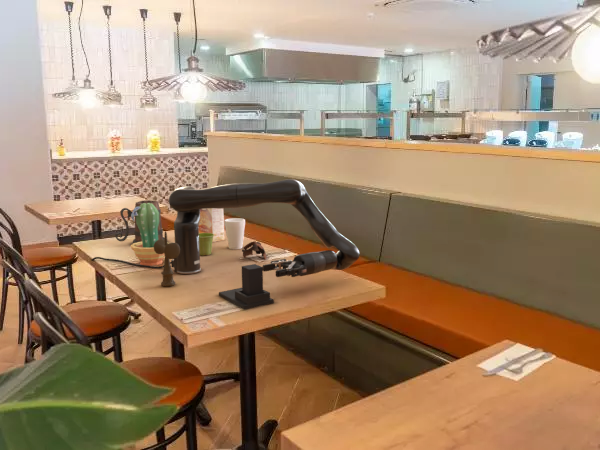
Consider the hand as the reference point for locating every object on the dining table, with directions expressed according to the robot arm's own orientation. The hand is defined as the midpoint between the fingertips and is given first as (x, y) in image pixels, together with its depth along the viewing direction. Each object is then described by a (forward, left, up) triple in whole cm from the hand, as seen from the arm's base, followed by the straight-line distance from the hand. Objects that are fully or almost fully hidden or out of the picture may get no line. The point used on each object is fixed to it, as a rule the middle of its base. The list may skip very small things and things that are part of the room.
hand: (269, 271), depth 191 cm
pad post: (-5, -5, -8) cm, 11 cm away
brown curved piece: (-20, +54, -10) cm, 58 cm away
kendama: (-40, +10, -10) cm, 42 cm away
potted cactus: (-60, +39, -10) cm, 72 cm away
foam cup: (-34, +71, -10) cm, 79 cm away
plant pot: (-44, +57, -10) cm, 72 cm away
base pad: (-8, -1, -10) cm, 13 cm away
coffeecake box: (-52, +88, -10) cm, 102 cm away
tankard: (-80, +72, -10) cm, 108 cm away
